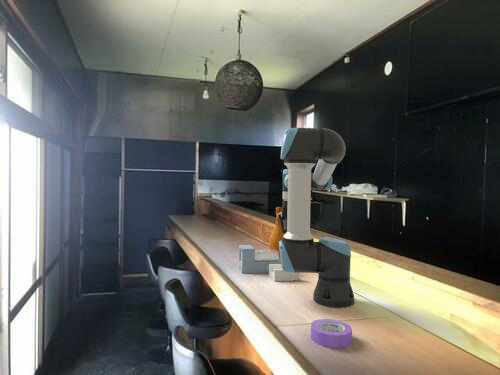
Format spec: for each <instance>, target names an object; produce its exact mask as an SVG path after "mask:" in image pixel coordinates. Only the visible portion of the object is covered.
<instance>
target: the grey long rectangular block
mask: <svg viewBox="0 0 500 375" xmlns="http://www.w3.org/2000/svg"><path fill="white" fill-rule="evenodd" d="M262 261H279V251H277V250H276V249H270V250H269V249H255V262H262ZM241 262H242V250H241Z"/></svg>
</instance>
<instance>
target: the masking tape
mask: <svg viewBox="0 0 500 375" xmlns="http://www.w3.org/2000/svg"><path fill="white" fill-rule="evenodd" d="M310 340H311V341H314V342H313V343H314V344H317V345H319V346H322V347H326V348H331V349H332V348H333V349H341V348H346V347H348V346H350V345H351V344H352V343H353V342H352V341H353V328H352V326H351V325H349V324H348V323H346V322H344V321H341V320H338V319H332V318H321V319H319V318H318V319H316V320H314V321H312V322H311V323H310Z"/></svg>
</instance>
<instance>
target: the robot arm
mask: <svg viewBox="0 0 500 375" xmlns="http://www.w3.org/2000/svg"><path fill="white" fill-rule="evenodd" d="M346 147H347V146H346V144H345V141H344V139H343V138H342V136H341V135H340V134H339V133H337V132H336V131H335V130H333V129H330V128H326V127H317V128H316V127H290V128H286V129H285V130H284V133H283V138H282V143H281V148H280V149H281V150H280V160H283V163H284V164H283V165H284V166H286V168H285V169H283V171H282V196H281V197H282V200H281V201H282V203H281V208H282V210H281V212H280V213H279V214H277V216H278V218H279V222H280V226H281V231H282V232H283V233H285V234H284V235H283V241H282V240H281V241H279V250H280V258H281V265H282V269H283V270H284V271H285V272H294V273H295V272H298V274H299V273H300V274H301V273H304V274H306V273H307V274H309V273H310V274H318V278H317V282H316V285H315V287H314V290H313V292H312V293H313V294H312V295H313V296H312V297H313V298H312V299H313V301H314V302H315V303H317V304H320V305H322V306H326V307H332V308H344V307H345V308H346V307H350V306H352V305H354V304H355V294H354V291H353V288H352V284H351V257H352V254H351V253H352V252H351V245H350V244H349V243H348V242H347V241H345V240H343V239H342V240H341V239H338V238H334V237H327V236H326V237H319V239H318V241H315V238H314V235H313V234H312V233H311V199H312V198H311V197H312V195H311V192H312V190H319V191H321V190H322V191H325V190H326V191H328V190H331V189H332V186H333V176H332V175H333V173H334V171H335V169H336V167H337V165H338V164H340V163H341V161H343V159H344V157H345V155H346V150H347V149H346ZM317 160H318V161H317ZM316 161H317V163H316ZM314 167H315V169H314V172H313V173H312V169H313V168H314ZM283 217H284V220H283ZM284 227H285V229H284Z"/></svg>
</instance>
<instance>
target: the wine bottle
mask: <svg viewBox="0 0 500 375" xmlns="http://www.w3.org/2000/svg"><path fill="white" fill-rule="evenodd" d="M281 210H282V206H276V208H275V215H276V218H275V219H276V220H275V223H274V227H273V229H272V232H271V233H270V237H269V242H268V247H269V248H268V250H270V249H276V250H277V251H279V257H280V250H279V241H281V240H282V241H283V235H284V234H285V233H283V232H282V231H281V226H280V222H279V218H278V216H277V214H279V213H280V212H281ZM284 229H285V226H284Z"/></svg>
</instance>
